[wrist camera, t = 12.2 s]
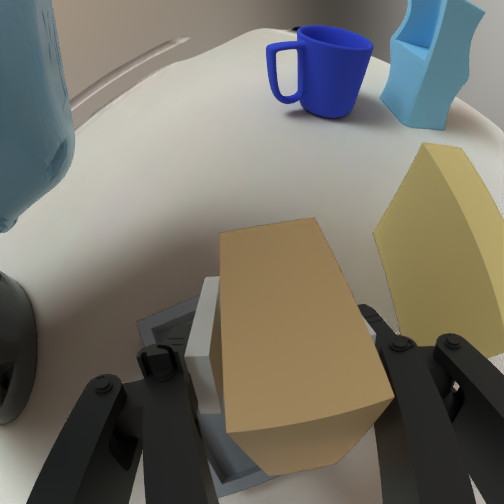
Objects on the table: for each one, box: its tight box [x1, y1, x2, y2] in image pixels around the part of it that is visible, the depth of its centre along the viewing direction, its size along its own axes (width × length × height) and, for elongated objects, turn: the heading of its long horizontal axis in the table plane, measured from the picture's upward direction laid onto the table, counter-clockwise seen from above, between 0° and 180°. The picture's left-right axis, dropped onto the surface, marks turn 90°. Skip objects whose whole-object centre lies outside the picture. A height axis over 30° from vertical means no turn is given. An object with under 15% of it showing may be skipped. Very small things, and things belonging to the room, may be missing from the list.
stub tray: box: [136, 295, 282, 498], centre depth 16 cm, size 12×12×2 cm
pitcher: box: [380, 0, 485, 130], centre depth 23 cm, size 8×8×20 cm
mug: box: [266, 25, 373, 118], centre depth 26 cm, size 8×12×10 cm
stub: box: [219, 217, 395, 476], centre depth 11 cm, size 7×4×10 cm, turn 6°
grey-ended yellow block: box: [373, 143, 504, 358], centre depth 15 cm, size 12×4×10 cm, turn 6°
